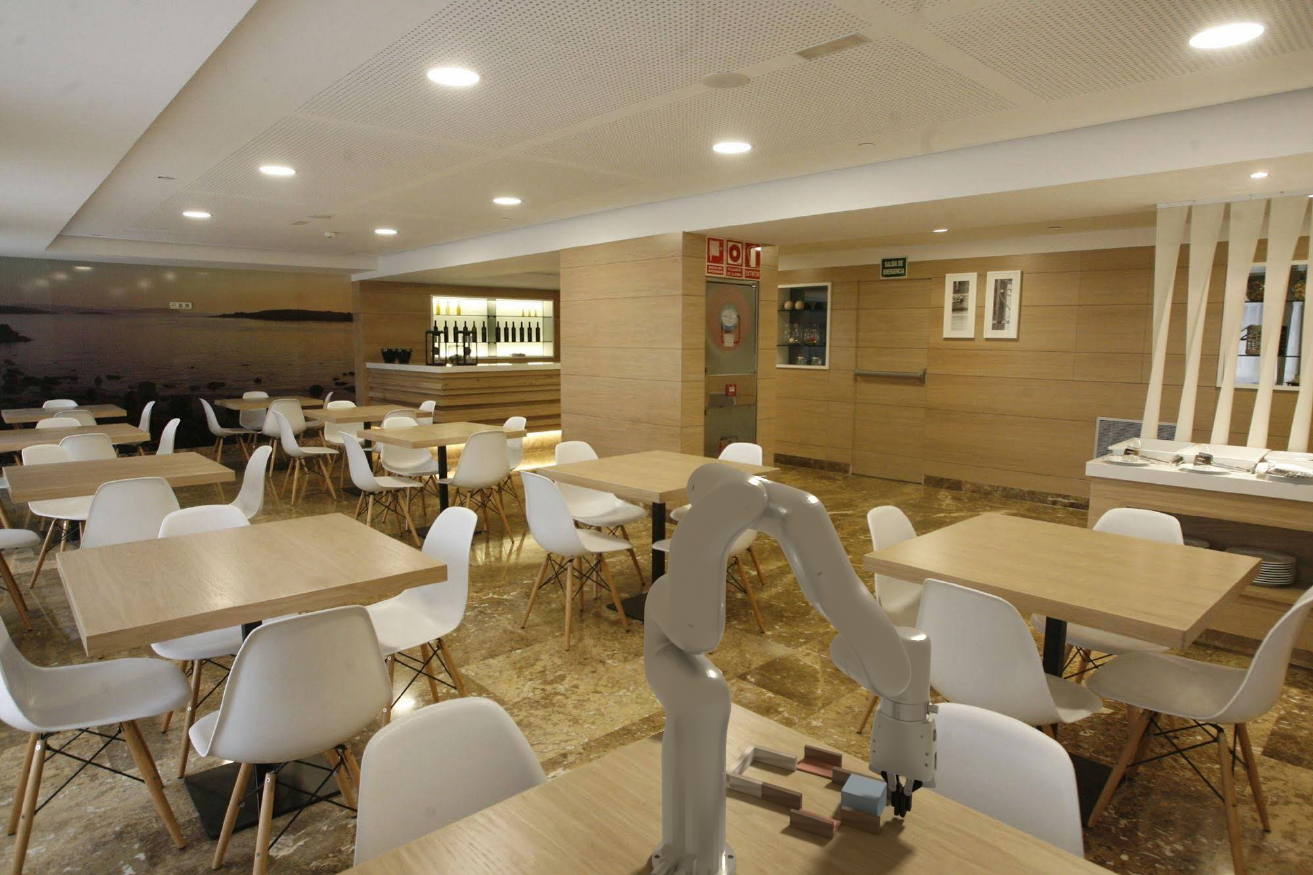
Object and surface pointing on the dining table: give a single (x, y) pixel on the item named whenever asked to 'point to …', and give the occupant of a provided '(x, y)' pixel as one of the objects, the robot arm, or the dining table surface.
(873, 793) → the slate block
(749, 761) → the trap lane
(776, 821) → the dining table surface
